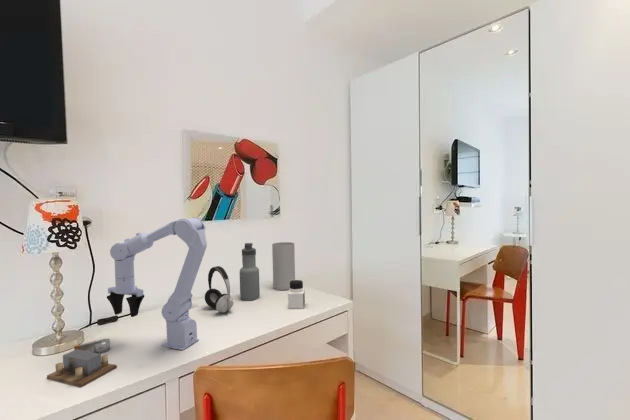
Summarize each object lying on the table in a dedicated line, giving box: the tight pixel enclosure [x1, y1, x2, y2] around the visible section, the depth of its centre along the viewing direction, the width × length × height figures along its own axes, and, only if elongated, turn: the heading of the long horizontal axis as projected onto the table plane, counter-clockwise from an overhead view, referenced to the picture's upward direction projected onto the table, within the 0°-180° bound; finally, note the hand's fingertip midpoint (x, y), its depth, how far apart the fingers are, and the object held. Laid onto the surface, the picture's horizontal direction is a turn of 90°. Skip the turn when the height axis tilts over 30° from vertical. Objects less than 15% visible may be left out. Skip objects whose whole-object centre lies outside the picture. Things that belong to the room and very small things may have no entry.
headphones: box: [204, 265, 234, 313], centre depth 140 cm, size 19×8×20 cm, turn 44°
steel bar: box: [62, 349, 102, 376], centre depth 89 cm, size 10×4×4 cm, turn 71°
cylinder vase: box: [271, 241, 296, 291], centre depth 175 cm, size 12×12×25 cm
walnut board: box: [46, 351, 118, 388], centre depth 89 cm, size 14×10×4 cm
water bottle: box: [239, 242, 261, 301], centre depth 157 cm, size 10×10×28 cm
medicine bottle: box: [287, 279, 306, 310], centre depth 143 cm, size 7×7×12 cm
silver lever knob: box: [73, 338, 111, 354], centre depth 101 cm, size 4×9×4 cm, turn 125°
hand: (126, 314), depth 108 cm, fingers open, 7 cm apart
